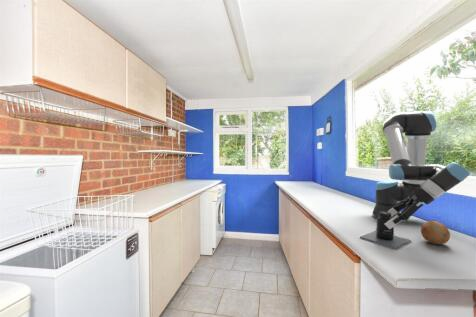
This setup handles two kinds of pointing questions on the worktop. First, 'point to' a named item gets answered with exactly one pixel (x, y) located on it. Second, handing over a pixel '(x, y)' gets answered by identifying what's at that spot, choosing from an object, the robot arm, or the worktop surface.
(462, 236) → the worktop surface
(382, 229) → the supplement bottle
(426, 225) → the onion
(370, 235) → the slate tile
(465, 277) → the worktop surface
